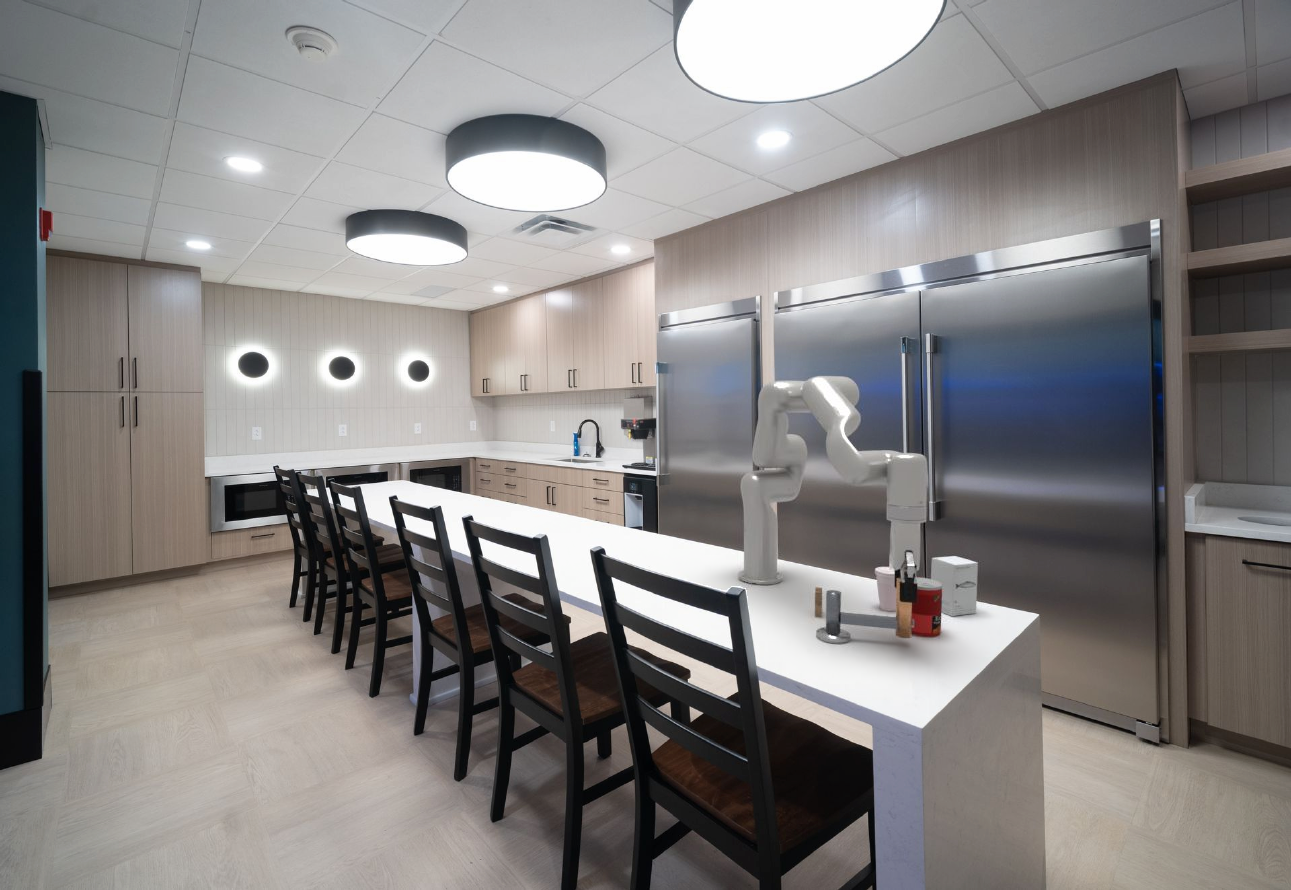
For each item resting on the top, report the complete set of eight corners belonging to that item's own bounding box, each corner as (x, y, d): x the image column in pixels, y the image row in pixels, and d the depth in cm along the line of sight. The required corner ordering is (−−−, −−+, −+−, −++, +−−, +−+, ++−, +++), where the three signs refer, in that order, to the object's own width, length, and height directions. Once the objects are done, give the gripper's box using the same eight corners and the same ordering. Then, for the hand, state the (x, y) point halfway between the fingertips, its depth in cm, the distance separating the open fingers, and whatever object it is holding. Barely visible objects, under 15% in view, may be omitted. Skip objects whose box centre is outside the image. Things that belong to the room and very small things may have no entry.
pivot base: (816, 630, 133) (816, 625, 133) (849, 633, 131) (849, 629, 131) (815, 641, 126) (815, 637, 126) (850, 645, 124) (850, 641, 124)
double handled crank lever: (910, 637, 125) (911, 577, 124) (912, 642, 122) (913, 581, 121) (825, 628, 130) (826, 571, 129) (825, 633, 127) (826, 575, 126)
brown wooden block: (815, 611, 145) (815, 587, 144) (822, 612, 144) (822, 587, 144) (814, 616, 141) (815, 592, 141) (821, 617, 140) (822, 592, 140)
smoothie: (907, 611, 145) (909, 554, 144) (887, 614, 142) (888, 557, 141) (888, 603, 151) (889, 548, 150) (868, 606, 148) (869, 551, 147)
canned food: (941, 639, 127) (942, 589, 126) (900, 633, 130) (901, 584, 130) (940, 627, 134) (941, 579, 133) (902, 622, 137) (903, 575, 136)
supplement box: (952, 617, 140) (953, 564, 139) (929, 607, 147) (930, 557, 146) (977, 614, 142) (978, 562, 141) (953, 604, 149) (954, 554, 149)
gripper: (883, 506, 132) (882, 582, 133) (890, 519, 115) (889, 606, 116) (920, 507, 129) (919, 584, 130) (933, 521, 113) (931, 609, 114)
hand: (905, 594), depth 123 cm, fingers open, 9 cm apart
